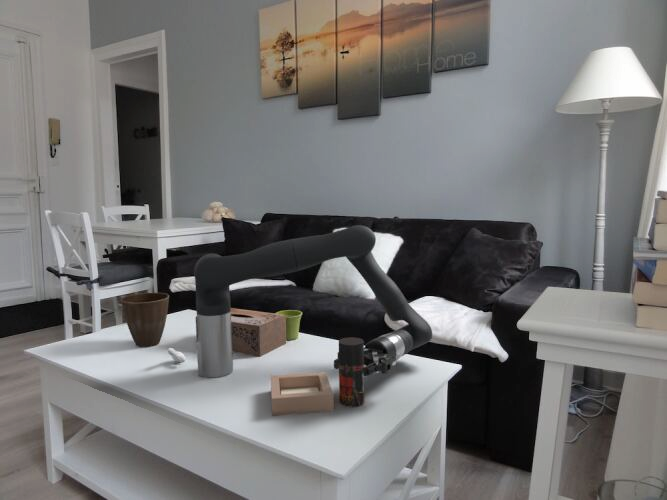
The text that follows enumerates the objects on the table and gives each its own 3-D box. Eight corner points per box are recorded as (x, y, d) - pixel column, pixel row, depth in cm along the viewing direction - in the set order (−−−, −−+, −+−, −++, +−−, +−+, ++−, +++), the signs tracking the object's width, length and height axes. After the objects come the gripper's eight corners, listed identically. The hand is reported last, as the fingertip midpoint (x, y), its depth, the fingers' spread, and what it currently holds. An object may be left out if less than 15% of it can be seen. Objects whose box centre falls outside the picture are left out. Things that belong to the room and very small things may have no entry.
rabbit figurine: (190, 359, 149) (188, 355, 141) (182, 370, 147) (180, 367, 140) (173, 348, 149) (170, 344, 141) (165, 360, 147) (162, 356, 140)
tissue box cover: (196, 346, 162) (195, 316, 161) (225, 334, 175) (224, 307, 173) (260, 357, 150) (259, 325, 149) (286, 344, 163) (285, 314, 161)
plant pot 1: (181, 341, 166) (178, 295, 164) (143, 354, 154) (140, 304, 152) (152, 335, 174) (150, 291, 172) (114, 346, 162) (111, 299, 160)
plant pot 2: (298, 342, 163) (298, 317, 162) (271, 341, 165) (271, 316, 164) (305, 334, 172) (305, 310, 171) (280, 333, 174) (279, 309, 173)
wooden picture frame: (272, 415, 111) (271, 398, 110) (271, 390, 124) (270, 375, 124) (333, 410, 113) (333, 394, 112) (325, 386, 126) (325, 371, 126)
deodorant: (338, 397, 120) (337, 337, 118) (362, 396, 120) (361, 336, 119) (340, 407, 114) (339, 345, 112) (365, 406, 114) (365, 344, 113)
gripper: (362, 331, 132) (325, 347, 119) (409, 341, 124) (375, 359, 111) (362, 358, 133) (326, 377, 120) (408, 369, 125) (375, 390, 112)
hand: (349, 368), depth 116 cm, fingers open, 8 cm apart
